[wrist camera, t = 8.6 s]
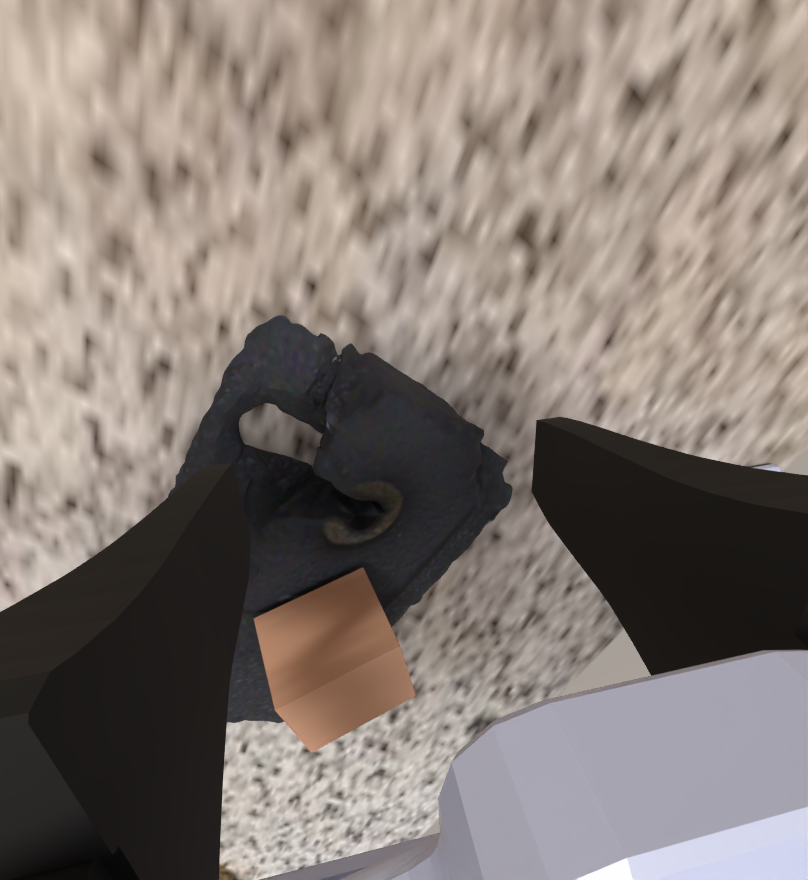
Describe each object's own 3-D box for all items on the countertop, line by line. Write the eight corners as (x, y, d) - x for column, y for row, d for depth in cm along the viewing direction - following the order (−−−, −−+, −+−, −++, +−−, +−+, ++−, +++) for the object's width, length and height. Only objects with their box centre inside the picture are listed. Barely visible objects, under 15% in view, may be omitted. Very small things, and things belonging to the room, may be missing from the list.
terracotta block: (363, 567, 22) (400, 645, 19) (382, 621, 25) (415, 695, 22) (253, 618, 20) (274, 710, 18) (288, 668, 24) (311, 752, 21)
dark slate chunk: (46, 640, 25) (-5, 730, 21) (283, 277, 19) (278, 298, 15) (304, 718, 31) (305, 799, 27) (537, 459, 26) (584, 509, 21)
